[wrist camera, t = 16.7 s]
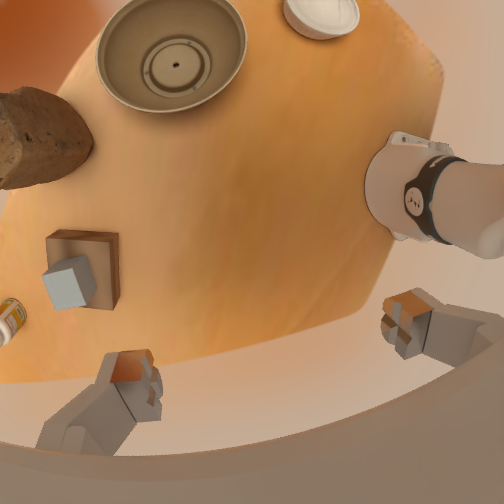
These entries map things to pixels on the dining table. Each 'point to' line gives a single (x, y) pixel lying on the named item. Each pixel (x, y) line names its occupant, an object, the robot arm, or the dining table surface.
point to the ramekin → (322, 17)
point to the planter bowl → (170, 52)
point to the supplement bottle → (10, 319)
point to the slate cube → (70, 283)
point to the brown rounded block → (39, 138)
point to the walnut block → (90, 261)
